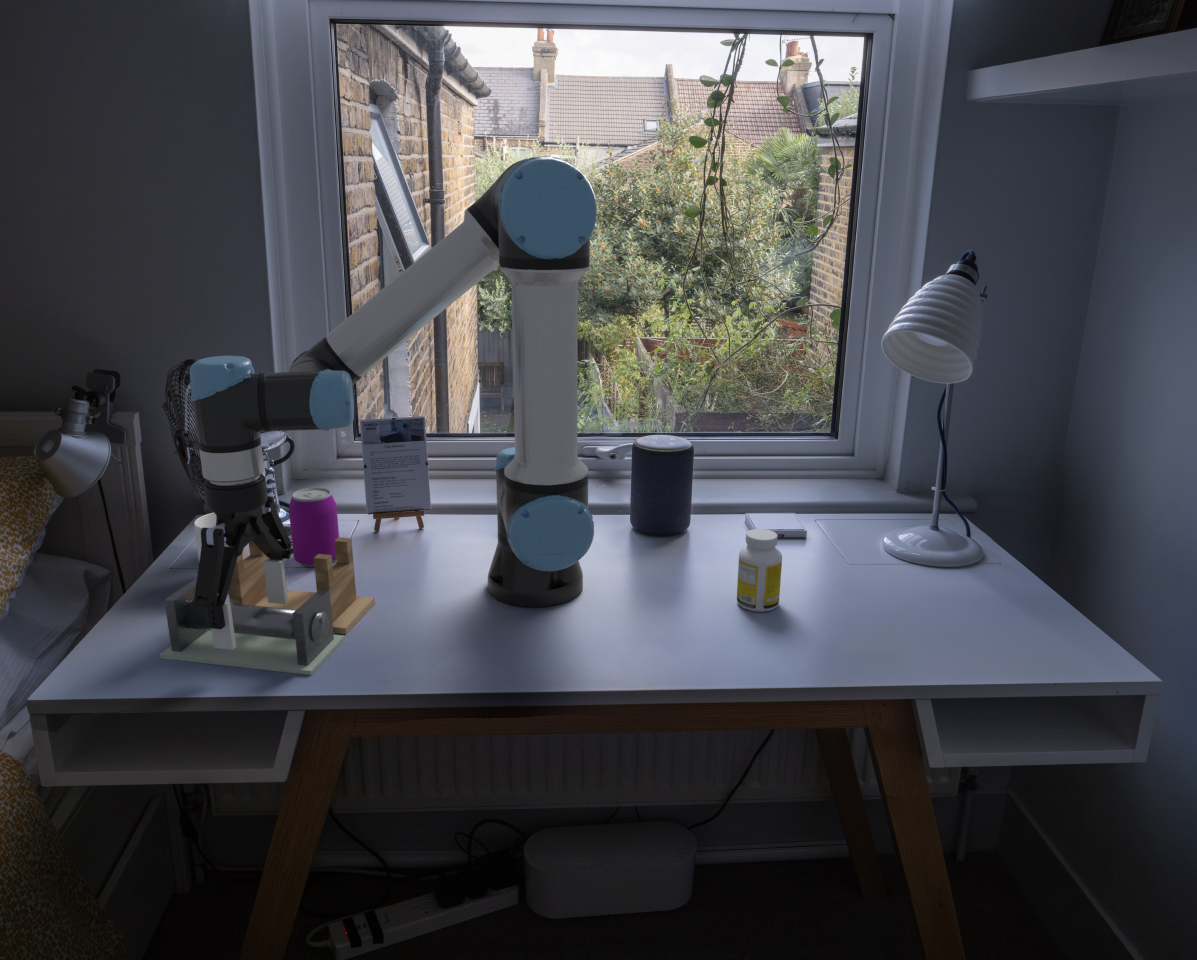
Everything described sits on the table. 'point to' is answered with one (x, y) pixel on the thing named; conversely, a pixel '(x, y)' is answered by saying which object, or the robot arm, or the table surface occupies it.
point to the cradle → (336, 578)
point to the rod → (255, 622)
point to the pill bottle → (759, 571)
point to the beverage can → (313, 524)
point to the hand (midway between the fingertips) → (253, 624)
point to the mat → (252, 653)
